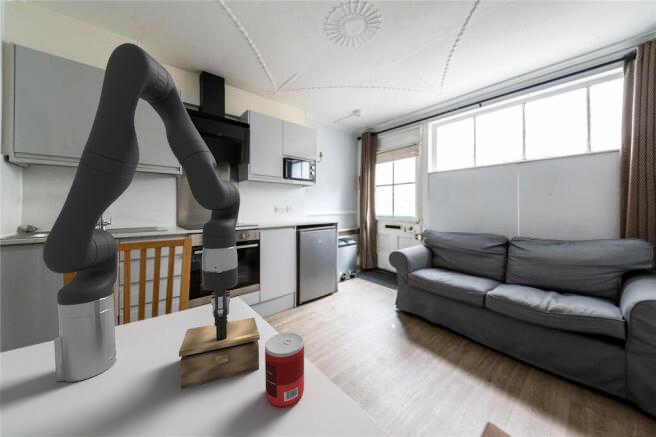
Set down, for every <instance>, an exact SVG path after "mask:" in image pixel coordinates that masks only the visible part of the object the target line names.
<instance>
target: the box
mask: <svg viewBox="0 0 656 437" xmlns="http://www.w3.org/2000/svg"><path fill="white" fill-rule="evenodd" d="M259 346H260V343H259V340H256V341H252V342H247V343H242V344H238V345H233V346H228V347H223V348H219V349H214V350H209V351H204V352H200V353H195V354H190V355H186V356H181V358H180V361H179V364H180V365H179V366H180V367H179V370H180V390H182V389H185V388H190V387H194V386H198V385H202V384H206V383H210V382H213V381H214V382H215V381H218V380H222V379H226V378H229V377H233V376H237V375H240V374H245V373H248V372H252V371H257V370H259V369H260V347H259Z"/></svg>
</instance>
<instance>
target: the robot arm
mask: <svg viewBox="0 0 656 437" xmlns="http://www.w3.org/2000/svg"><path fill="white" fill-rule="evenodd" d="M104 72H105V73H104V77H103V82H102V87H101V92H100V97H99V101H98V106H97V110H96V112H95V116H94V119H93V121H92V122H93V123H92V126H91V128H90V132H89V134H88V138H87V140H86V142H85V145H84V148H83V149H82V150H83V151H82V153H81V156H80V160H79V161H78V165H77V169H76V171H75V176H74V178H73V181H72V183H71V186H70V188H69V191H68V193H67V197H66V198H65V202H63V205H62V208H61V210H60V212H59V214H58V216H57V218H56V219H55V221H54V224H53V226H52V228H51V229H50V231H49V233H48V234H47V238H46V240H45V242H44V245H43V249H42V259H43V263H44V265H45V266H46V268H47V269H48V270H50V271H51V272H52V273H56V274H72V273H75V274H74V277H73V278H72V279H71V280H70V281H69V282H67V283H66V284H65V285H64V286H62V287H61V288H60V289H59V290H58V291H57V294H56V295H57V296H56V301H57V315H58V330H59V331H58V332H59V335H58V336H57V337H55V339H54V340H53V344H54V363H55V380H56V381H55V382H61V381H63V382H68V383H69V382H70V383H71V382H78V381H83V380H84V381H85V380H87V379H90V378H92V377H96V376H97V375H99V374H101V373H104V372H105V371H107V370H108V369H110V368H111V367H113V365H115V363H116V362H117V346H116V345H117V343H116V323H115V322H116V320H115V303H114V302H115V301H114V300H115V298H114V287H115V284H116V282H117V279H118V255H119V254H118V245H117V244H118V243H117V241H116V239H115V237H114V235H113V234H112V233H111V232H110V231H108V230H106V229H102V228H96V227H97V225H98V223H99V221H100V219H101V217H102V216H103V214H105V212H106V211H107V210H108V208H110V206H112V205H113V204H114V202H116V200H117V201H118V199H119V198H120V197H121V196H122V195H123V194H124V193H125V191H126V190H127V189H128V188H129V187H130V185H131V184H132V182H133V179H134V176H135V174H136V171H137V168H138V165H139V162H140V148H139V141H138V136H137V133H136V127H135V114H136V110H137V106H138V103H139V100H140V99H141V100H143V101H145V102H146V103H148V104H149V106H150V107H152V109H154V111H155V112H156V113H157V115H158V116H159V117H160V119H161V120H162V123H163V125H164V128H165V134H166V135H165V136H166V139H167V144H168V145H169V148H170V150H171V152H172V153H173V156H175V158H176V161H178V163H179V165H180V166H181V168H182V169H183V171H184V172H185V176H186V181H187V183H188V187H189V189H190V192H191V195H192V197H193V199H194V200H195V202H197V203H198V205H199V206H200V207H202V208H203V209H204V210H209V211H211V213H210V214H211V215H210V219H209V220H208V221H206V222H205V223H204V224H203V226H202V234H201V235H202V253H201V254H202V255H201V276H202V277H201V278H202V279H201V280H202V282H201V283H202V284H201V285H202V288H203V289H204V290H206V291H213V292H212V293H211V298H210V304H211V306H212V317H213V318H214V324H213V325H215V326H216V339H217V340H223V339H226V338H227V323H228V322H229V320H228V317H229V316H228V315H229V314H230V303H231V291H230V290H228V289H231V288H234V287H236V286H237V285H238V283H239V282H238V281H239V280H238V277H239V276H238V275H239V274H238V271H239V270H238V266H239V265H238V251H237V233H236V232H237V231H236V228H237V227H236V226H237V223H238V219H239V218H238V217H239V213H240V209H241V208H240V207H241V195H240V191H239V189H238V187H237V186H236V184H235V183H233V182H231V181H229V180H224V179H220V177H219V175H218V174H217V172H216V170H215V169H216V168H217V161H216V159H215V157H214V155H213V154H212V152H211V151H210V149H209V147H208V146H207V144H206V142H205V141H204V139H203V138H202V136H201V134H200V132H199V131H198V129H197V128H196V126H195V124H194V122H193V121H192V119H191V117H190V115H189V113H188V110H187V109H186V107H185V104H184V102H183V100H182V98H181V96H180V92H179V91H178V88H177V85H176V83H175V81H174V79H173V77H172V74H171V73H170V72H169V71H168V69H166V68H165V67H164V66H163V65H162V64H161V62H158V61H157V59H155V58H154V57H153V56H152V55H151V54H149V53H148V52H147V51H145V50H144V49H143V48H142V47H141V46H139V45H138V44H135V43H130V42H126V43H125V42H124V43H122V44H119V45H118V46H116V47H115V48H114V50H112V52H111V53H110V56H109V58H108V61H107V63H106V66H105V71H104Z"/></svg>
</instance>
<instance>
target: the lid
mask: <svg viewBox="0 0 656 437" xmlns="http://www.w3.org/2000/svg"><path fill="white" fill-rule="evenodd" d="M256 340H258V341H260V340H261V335H260V332H259V329H258V326H257V322H256V318H255V317H249V318H244V319H237V320H231V321H228V323H227V338H226V339H223V340H217V339H216V326H215V325H214V324H208V325H203V326H198V327H191V328H187V329H186V332H185V334H184V337H183V340H182V343H181V345H180V348H179V350H178V358H179V357H182V356H186V355H190V354H195V353H200V352H204V351H209V350H214V349H219V348H223V347H228V346H233V345H238V344H242V343H247V342H252V341H256Z"/></svg>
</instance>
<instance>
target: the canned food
mask: <svg viewBox="0 0 656 437" xmlns="http://www.w3.org/2000/svg"><path fill="white" fill-rule="evenodd" d="M264 363H265V364H264V368H265V370H264V371H265V372H264V374H265V377H264V378H265V397H266V400H267V403H268V404H269V405H270V406H271V407H273V408H276V409H287V408H290V407H293V406H294V405H297V403H298V402H299V401H300V400H301V399H302V397H303V395H304V391H305V341H304V338H303V336H302V335H301V334H299V333H295V332H280V333H278V334H275V335H273V336H271V337H269V338H268V339H267V340H266V342H265V346H264Z"/></svg>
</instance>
